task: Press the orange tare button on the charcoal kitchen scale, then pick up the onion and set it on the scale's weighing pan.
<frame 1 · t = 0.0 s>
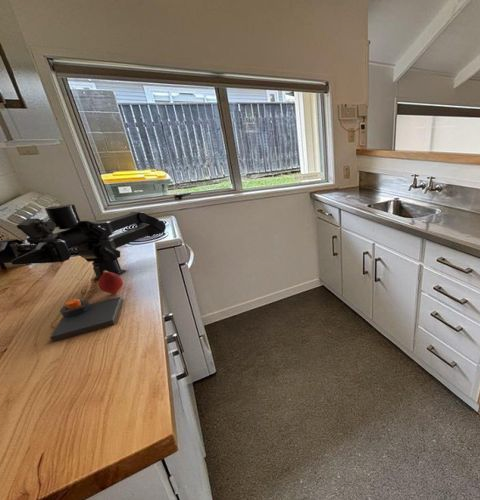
onion: (115, 293, 89), on the counter
scale: (91, 318, 76), on the counter
tare button: (73, 304, 76), point 4 cm above the counter, slide at 0.1 cm
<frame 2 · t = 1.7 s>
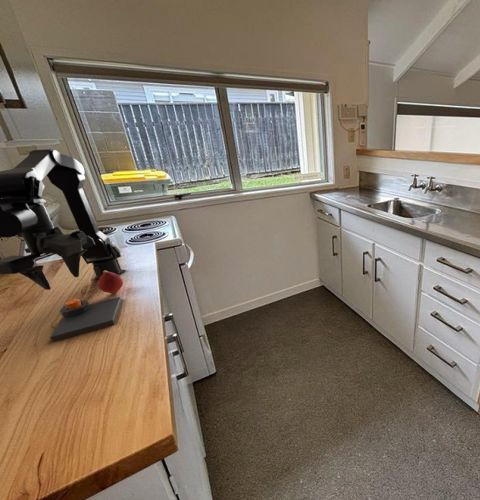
hand: (63, 282, 74), 10 cm above the counter, tool pointing down, fingers open, 7 cm apart
nothing on the counter moved.
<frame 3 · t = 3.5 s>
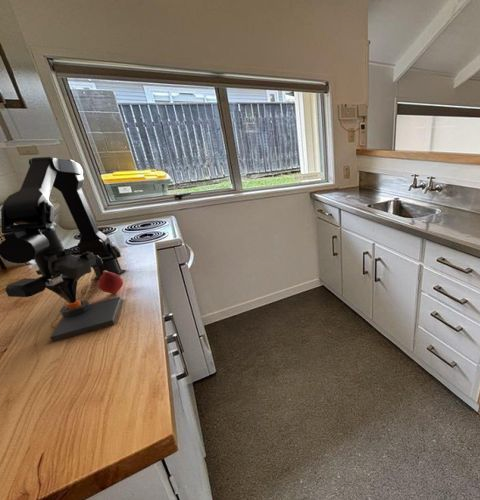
hand: (72, 302, 76), 4 cm above the counter, tool pointing down, fingers closed, pressing on tare button
tare button: (73, 304, 77), point 3 cm above the counter, slide at -0.1 cm, touching gripper
everything else where it was.
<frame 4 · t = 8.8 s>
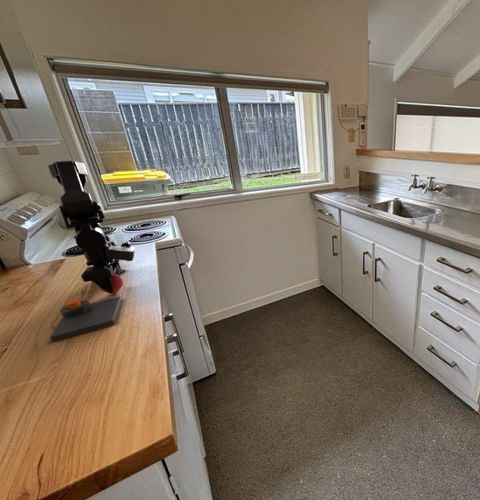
hand: (113, 288, 88), 2 cm above the counter, tool pointing down, fingers closed on onion, 6 cm apart
onion: (115, 293, 89), on the counter, touching gripper
tare button: (73, 304, 76), point 4 cm above the counter, slide at 0.1 cm
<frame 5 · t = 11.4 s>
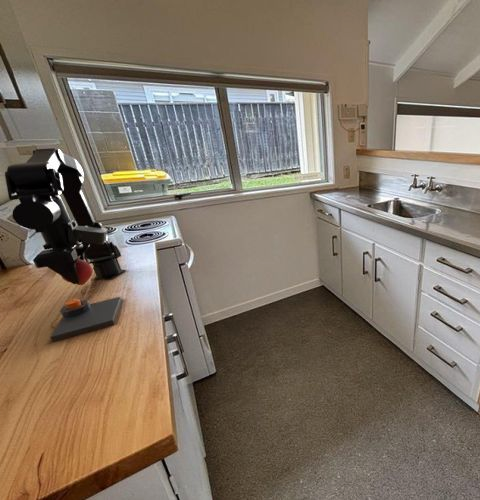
hand: (79, 279, 72), 12 cm above the counter, tool pointing down, fingers closed on onion, 6 cm apart
onion: (82, 285, 73), point 10 cm above the counter, touching gripper
everything else where it was.
when the fingers open (3 cm above the counter, at t = 14.2 s): onion stays where it is, resting on scale.
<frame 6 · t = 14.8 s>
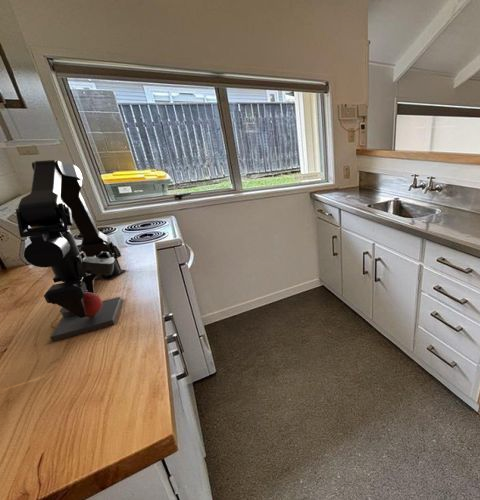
hand: (88, 308, 73), 4 cm above the counter, tool pointing down, fingers open, 9 cm apart
onion: (92, 317, 74), point 1 cm above the counter, touching scale
everything else where it was.
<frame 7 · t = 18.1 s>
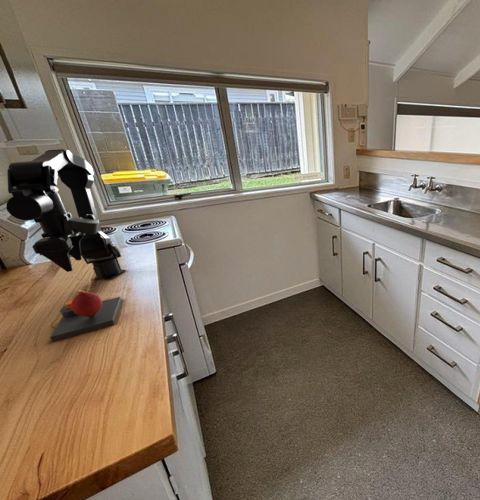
hand: (74, 265, 80), 12 cm above the counter, tool pointing down, fingers open, 9 cm apart
nothing on the counter moved.
at the end: tare button pushed in 0.9 cm at the most during the clip, back to where it started at the end; onion inside the target area on the scale (0.2 cm from its centre), point 1.2 cm above the scale's base; onion touching scale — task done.
